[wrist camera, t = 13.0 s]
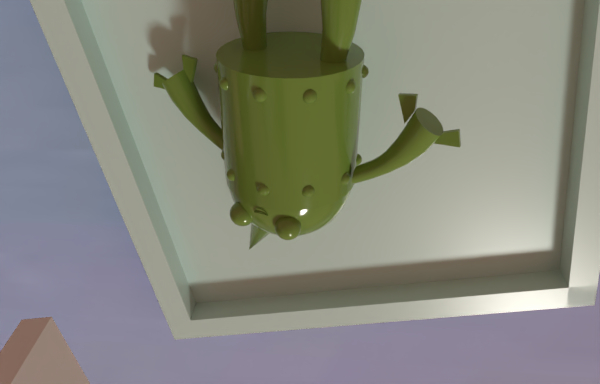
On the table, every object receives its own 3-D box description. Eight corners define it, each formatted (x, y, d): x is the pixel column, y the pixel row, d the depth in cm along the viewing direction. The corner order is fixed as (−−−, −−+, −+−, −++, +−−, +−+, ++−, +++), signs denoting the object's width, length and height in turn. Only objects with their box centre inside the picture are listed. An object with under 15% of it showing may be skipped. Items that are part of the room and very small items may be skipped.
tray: (184, 311, 29) (174, 339, 27) (17, -109, 19) (-15, -105, 17) (578, 275, 26) (594, 304, 24) (639, -246, 16) (676, -258, 14)
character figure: (469, -15, 12) (407, 359, 18) (509, -47, 16) (447, 270, 22) (81, -54, 16) (141, 255, 23) (187, -71, 20) (213, 197, 27)
